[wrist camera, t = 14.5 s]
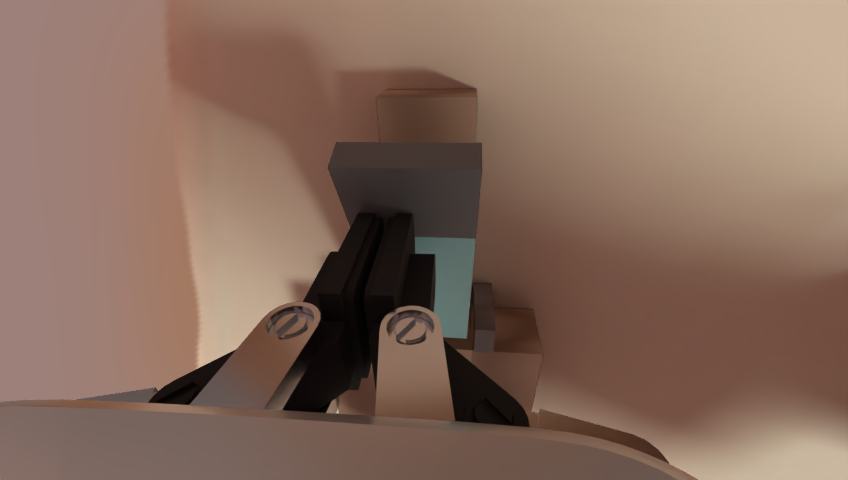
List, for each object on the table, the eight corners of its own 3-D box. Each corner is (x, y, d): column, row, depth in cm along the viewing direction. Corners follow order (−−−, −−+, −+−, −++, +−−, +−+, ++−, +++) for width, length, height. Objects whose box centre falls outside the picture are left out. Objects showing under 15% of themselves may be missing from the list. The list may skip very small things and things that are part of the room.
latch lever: (481, 142, 10) (481, 168, 9) (466, 320, 19) (466, 338, 19) (336, 142, 10) (327, 167, 9) (393, 316, 20) (391, 334, 19)
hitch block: (570, 87, 15) (598, 103, 12) (512, 426, 28) (518, 478, 25) (301, 90, 16) (260, 106, 13) (362, 413, 29) (349, 462, 26)
